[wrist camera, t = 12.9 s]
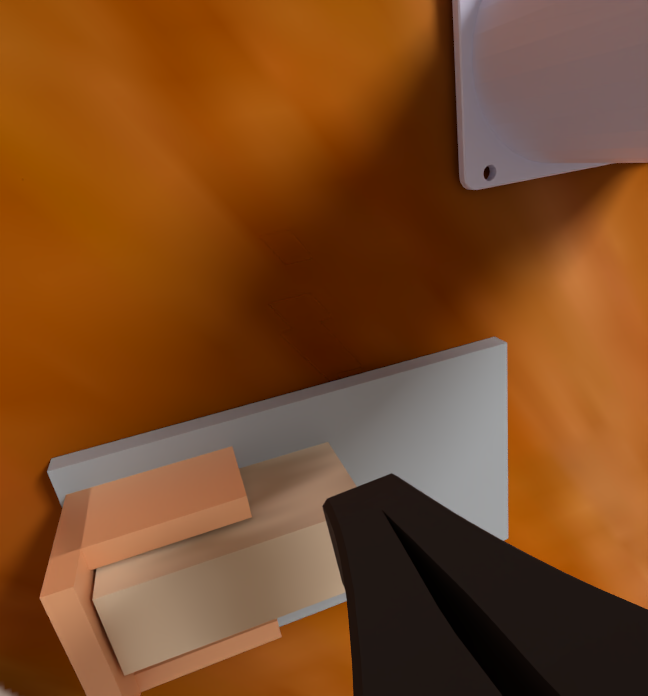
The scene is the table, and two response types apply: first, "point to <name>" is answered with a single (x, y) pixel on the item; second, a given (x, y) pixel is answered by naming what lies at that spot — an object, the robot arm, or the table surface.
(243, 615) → the beige rectangular block
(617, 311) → the table surface
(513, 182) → the robot arm
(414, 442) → the board
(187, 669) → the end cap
